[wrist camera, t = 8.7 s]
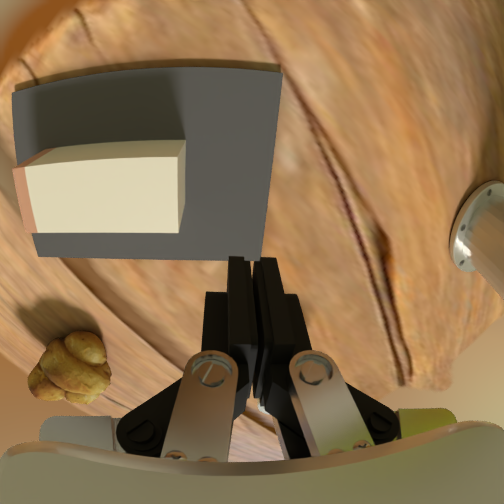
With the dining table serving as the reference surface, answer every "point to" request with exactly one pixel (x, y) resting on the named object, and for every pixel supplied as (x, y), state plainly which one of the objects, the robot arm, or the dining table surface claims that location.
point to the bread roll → (71, 369)
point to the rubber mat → (167, 128)
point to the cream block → (104, 188)
